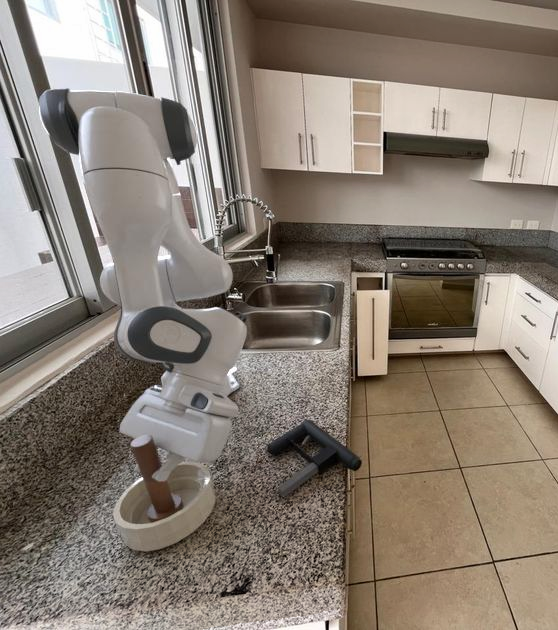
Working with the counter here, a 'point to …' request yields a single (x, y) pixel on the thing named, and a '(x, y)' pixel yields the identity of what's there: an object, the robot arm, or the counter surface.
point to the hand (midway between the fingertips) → (149, 476)
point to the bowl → (197, 506)
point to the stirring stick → (157, 490)
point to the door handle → (316, 463)
